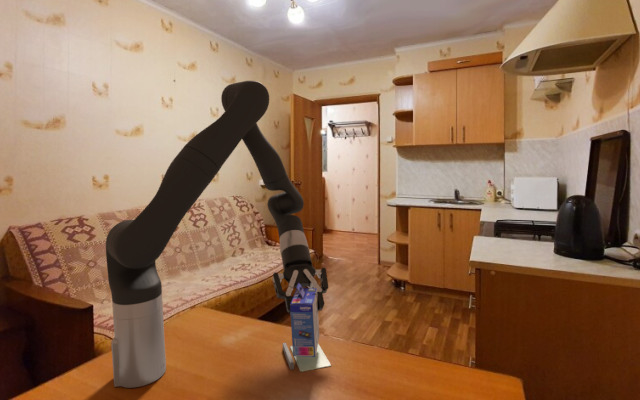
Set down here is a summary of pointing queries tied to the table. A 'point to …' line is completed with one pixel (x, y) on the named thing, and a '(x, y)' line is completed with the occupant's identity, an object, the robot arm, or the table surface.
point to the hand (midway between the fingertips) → (306, 311)
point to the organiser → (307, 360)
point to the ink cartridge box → (304, 322)
